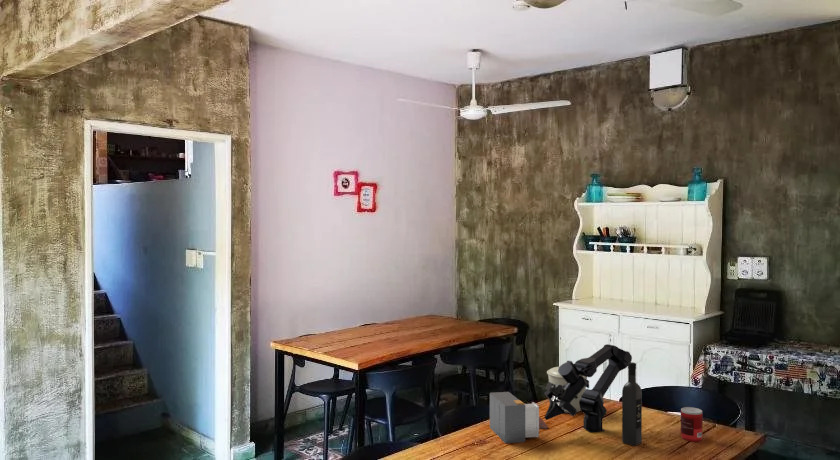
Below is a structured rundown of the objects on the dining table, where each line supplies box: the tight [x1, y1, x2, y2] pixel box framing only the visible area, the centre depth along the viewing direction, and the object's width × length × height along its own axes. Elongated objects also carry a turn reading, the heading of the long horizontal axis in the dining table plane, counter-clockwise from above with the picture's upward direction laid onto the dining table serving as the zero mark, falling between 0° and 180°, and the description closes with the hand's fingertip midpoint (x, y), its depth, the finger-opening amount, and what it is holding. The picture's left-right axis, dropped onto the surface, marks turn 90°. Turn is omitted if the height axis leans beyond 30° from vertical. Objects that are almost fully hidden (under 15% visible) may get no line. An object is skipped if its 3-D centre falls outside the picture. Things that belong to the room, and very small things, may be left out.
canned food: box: [680, 406, 704, 443], centre depth 239 cm, size 8×8×11 cm
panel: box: [524, 401, 540, 439], centre depth 238 cm, size 8×6×12 cm
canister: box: [546, 361, 588, 414], centre depth 277 cm, size 18×18×21 cm
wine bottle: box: [621, 361, 643, 447], centre depth 234 cm, size 6×6×30 cm
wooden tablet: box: [539, 416, 549, 430], centre depth 263 cm, size 27×10×2 cm, turn 3°
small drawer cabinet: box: [489, 391, 526, 444], centre depth 243 cm, size 9×19×14 cm, turn 11°
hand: (545, 418), depth 240 cm, fingers closed
